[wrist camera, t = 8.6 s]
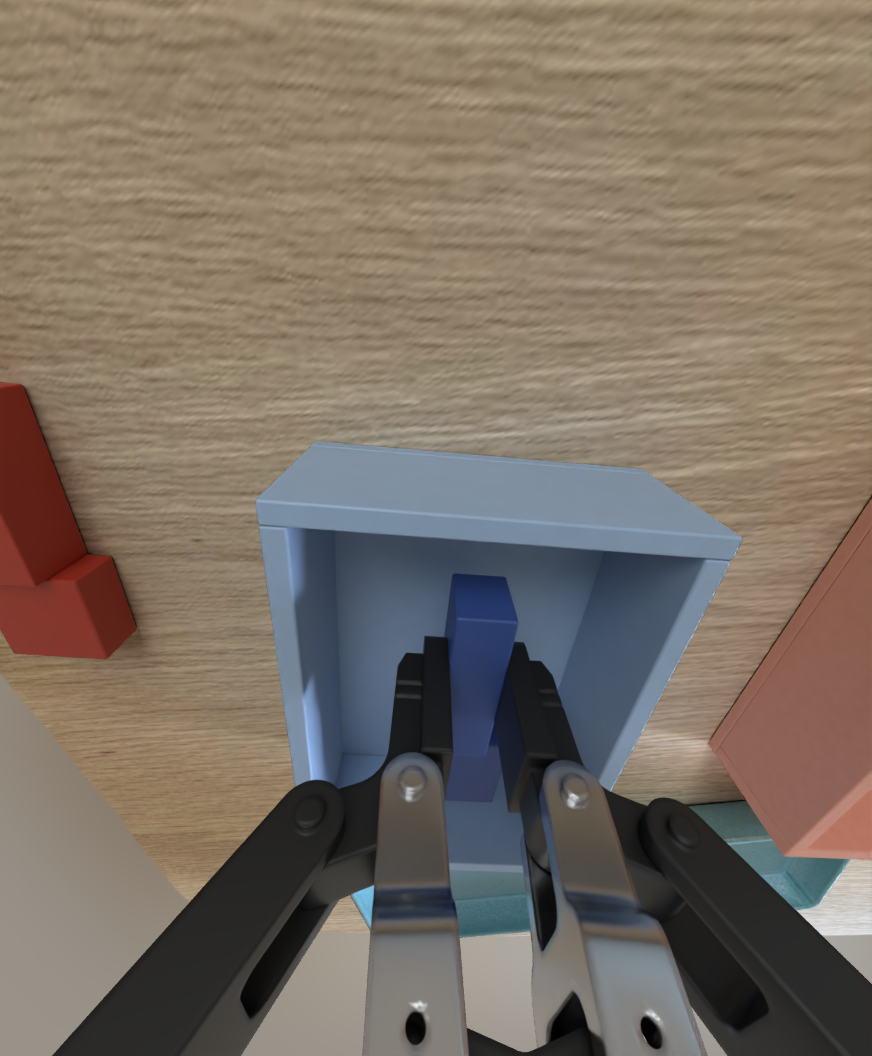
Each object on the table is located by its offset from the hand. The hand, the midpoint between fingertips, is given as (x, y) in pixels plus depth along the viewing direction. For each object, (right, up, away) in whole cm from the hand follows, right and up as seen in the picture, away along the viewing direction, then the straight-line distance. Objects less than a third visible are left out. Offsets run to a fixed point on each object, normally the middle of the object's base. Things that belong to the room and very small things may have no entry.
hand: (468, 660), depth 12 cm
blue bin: (0, 0, +3) cm, 4 cm away
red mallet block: (-14, +4, +1) cm, 15 cm away
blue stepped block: (0, -1, +1) cm, 2 cm away
